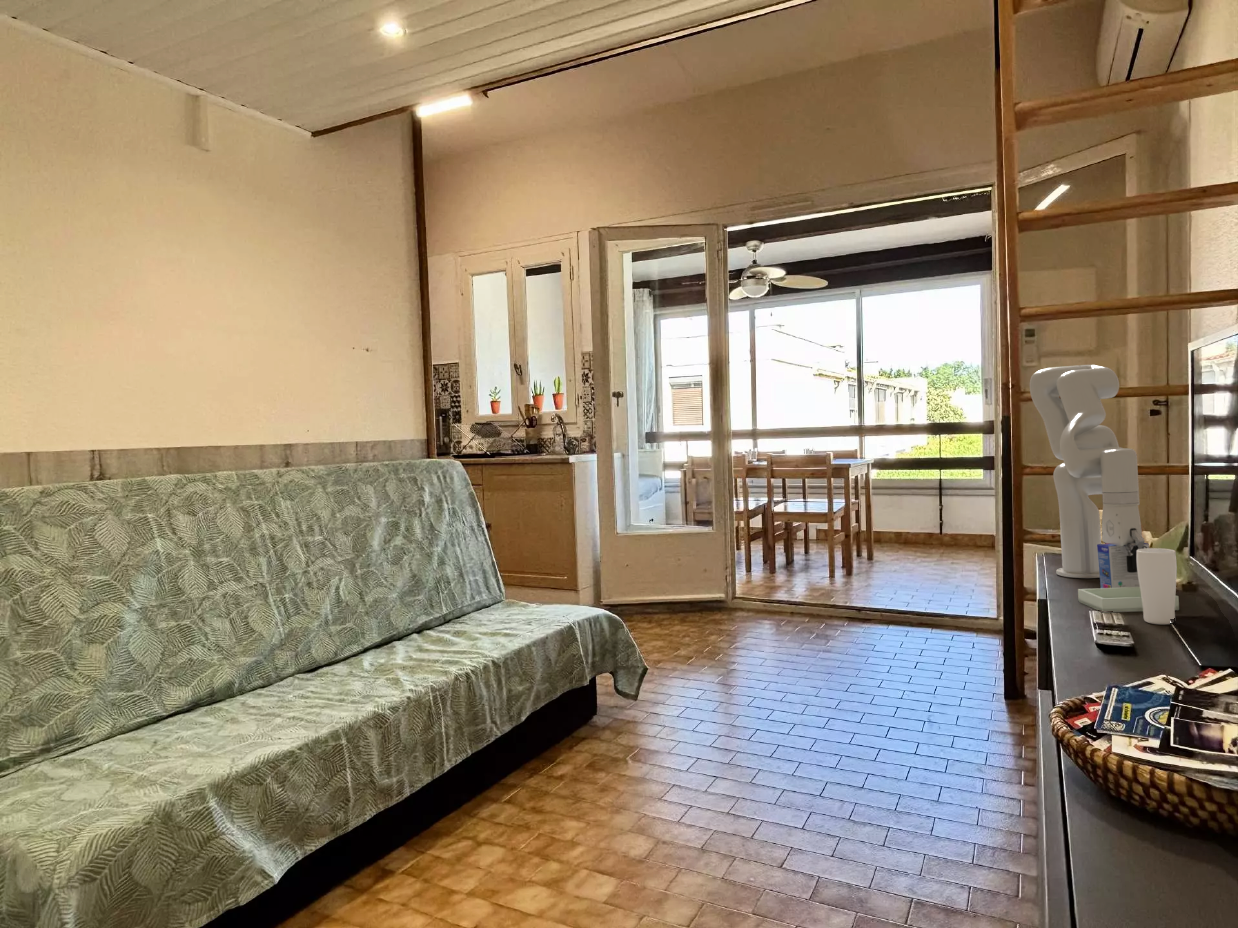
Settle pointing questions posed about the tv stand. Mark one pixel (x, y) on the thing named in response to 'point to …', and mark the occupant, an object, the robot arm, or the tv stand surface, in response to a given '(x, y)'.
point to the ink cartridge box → (1115, 567)
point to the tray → (1114, 599)
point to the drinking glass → (1157, 583)
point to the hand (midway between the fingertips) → (1124, 568)
